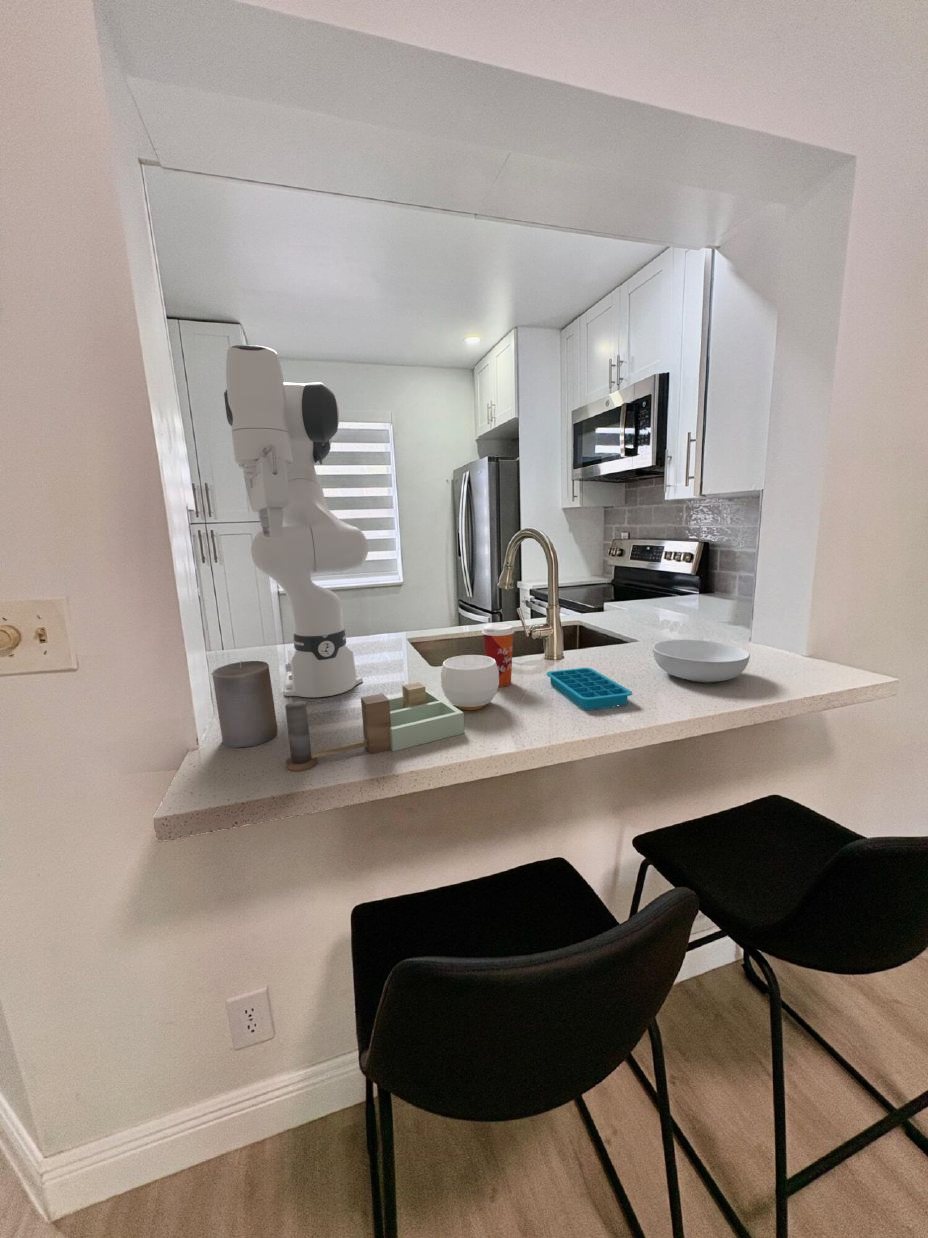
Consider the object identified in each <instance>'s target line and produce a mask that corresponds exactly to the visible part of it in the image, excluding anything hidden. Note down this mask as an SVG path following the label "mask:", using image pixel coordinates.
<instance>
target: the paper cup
mask: <svg viewBox="0 0 928 1238" xmlns="http://www.w3.org/2000/svg"><path fill="white" fill-rule="evenodd" d="M513 628H514V627H513V626H512V625H510V624H506V623H492V624H491V623H490V624H486V625H484V626H483V629H482V630H481V634H482V635H483V646H484V656H487V657H491V658H493V659H495V661H496V664H497V668H498V671H499V686H498V688H503V687H504V688H505V687H508V686H510V685H511V684H512V672H513V671H512V670H513V646H514V645H513V644H514V643H513V642H514V640H513V639H514V634H515V630H514V629H513Z"/></svg>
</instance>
